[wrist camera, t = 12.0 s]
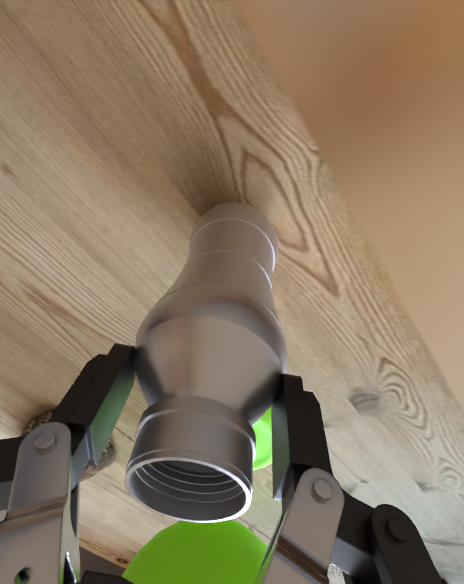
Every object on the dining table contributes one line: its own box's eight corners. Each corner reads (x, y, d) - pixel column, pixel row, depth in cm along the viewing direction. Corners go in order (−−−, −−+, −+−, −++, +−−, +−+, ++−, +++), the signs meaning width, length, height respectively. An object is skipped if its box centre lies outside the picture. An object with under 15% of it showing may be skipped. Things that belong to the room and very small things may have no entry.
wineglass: (168, 461, 45) (119, 648, 30) (159, 384, 36) (83, 590, 21) (280, 474, 44) (288, 673, 29) (297, 398, 36) (322, 623, 20)
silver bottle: (249, 282, 28) (230, 560, 11) (182, 243, 27) (44, 496, 10) (293, 224, 25) (361, 490, 8) (221, 176, 23) (117, 379, 7)
